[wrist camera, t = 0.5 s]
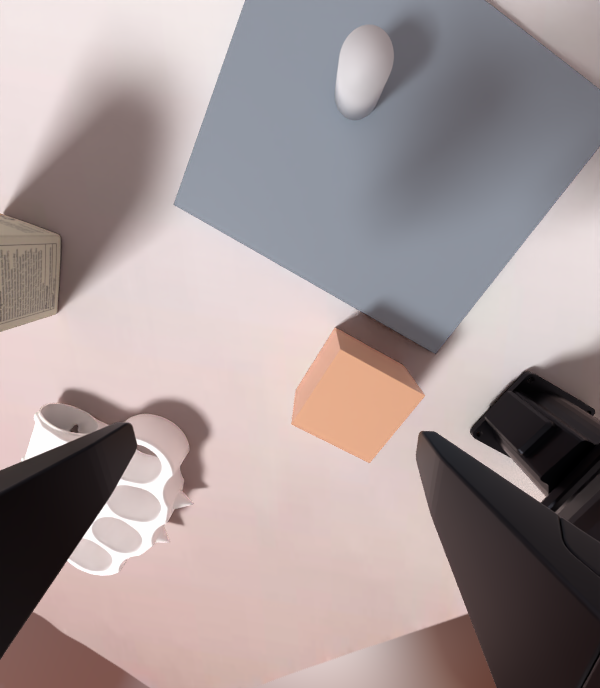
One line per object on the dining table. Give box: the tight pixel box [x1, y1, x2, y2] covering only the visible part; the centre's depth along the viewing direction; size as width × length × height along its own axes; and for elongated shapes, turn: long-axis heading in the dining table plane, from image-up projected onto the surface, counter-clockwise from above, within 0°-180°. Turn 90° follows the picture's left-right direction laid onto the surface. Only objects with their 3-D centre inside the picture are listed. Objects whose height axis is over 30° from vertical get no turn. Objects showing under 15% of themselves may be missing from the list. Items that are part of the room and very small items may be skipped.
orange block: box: [291, 327, 425, 463], centre depth 20 cm, size 6×6×4 cm
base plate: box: [174, 0, 600, 354], centre depth 15 cm, size 20×16×4 cm
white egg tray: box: [21, 403, 194, 575], centre depth 26 cm, size 3×18×15 cm
